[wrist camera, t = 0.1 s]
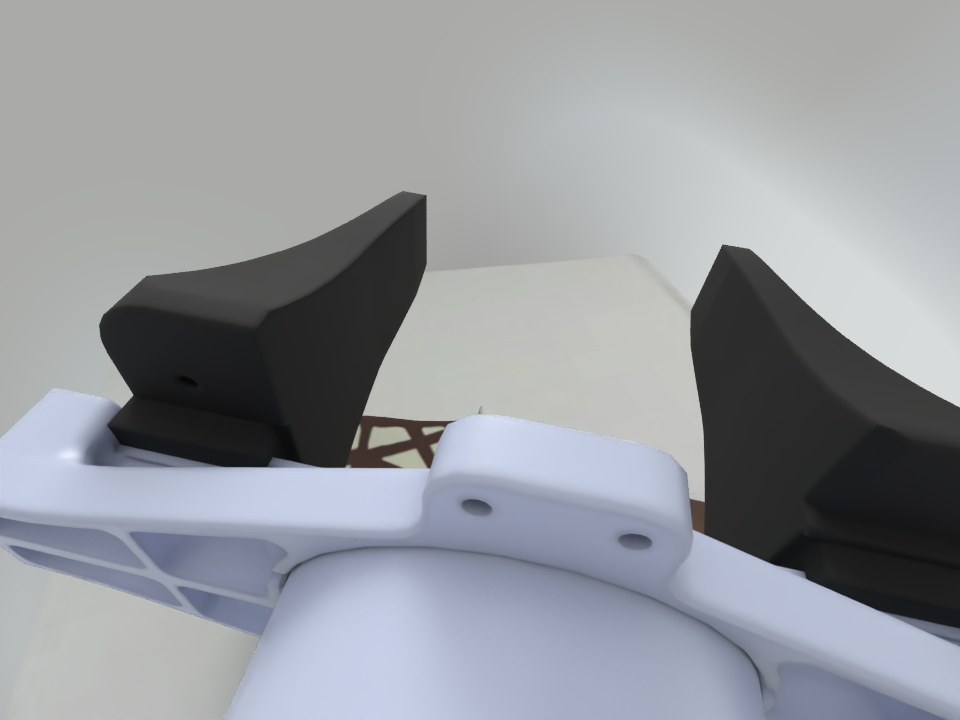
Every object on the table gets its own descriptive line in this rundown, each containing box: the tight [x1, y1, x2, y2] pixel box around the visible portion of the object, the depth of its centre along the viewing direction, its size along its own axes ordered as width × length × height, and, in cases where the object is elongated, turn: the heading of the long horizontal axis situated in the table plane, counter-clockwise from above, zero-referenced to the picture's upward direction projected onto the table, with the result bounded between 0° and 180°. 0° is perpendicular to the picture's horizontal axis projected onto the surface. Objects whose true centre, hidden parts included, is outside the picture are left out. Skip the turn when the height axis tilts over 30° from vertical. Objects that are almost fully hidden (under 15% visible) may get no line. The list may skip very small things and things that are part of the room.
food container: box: [345, 406, 482, 469], centre depth 25 cm, size 12×6×10 cm, turn 95°
